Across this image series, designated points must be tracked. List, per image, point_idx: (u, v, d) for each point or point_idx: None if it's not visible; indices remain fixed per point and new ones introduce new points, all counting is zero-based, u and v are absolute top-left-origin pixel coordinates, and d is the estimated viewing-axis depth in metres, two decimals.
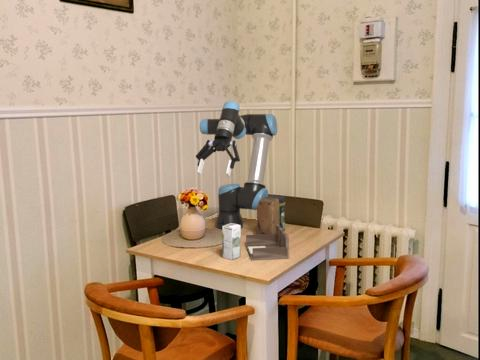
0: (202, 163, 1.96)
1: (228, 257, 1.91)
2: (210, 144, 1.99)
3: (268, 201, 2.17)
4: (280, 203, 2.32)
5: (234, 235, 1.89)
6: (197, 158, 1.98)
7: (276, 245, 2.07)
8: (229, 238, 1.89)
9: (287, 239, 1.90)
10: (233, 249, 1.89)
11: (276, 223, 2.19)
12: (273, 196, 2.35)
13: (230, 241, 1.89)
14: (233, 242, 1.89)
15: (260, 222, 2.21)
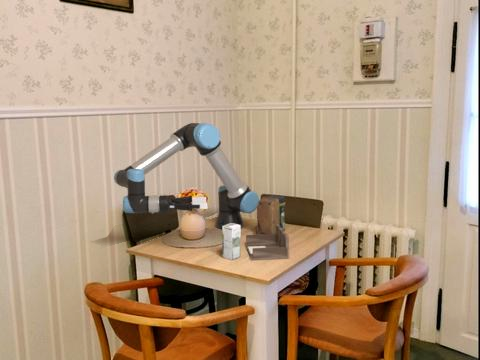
0: (195, 200, 2.07)
1: (228, 257, 1.91)
2: None
3: (268, 201, 2.17)
4: (280, 203, 2.32)
5: (234, 235, 1.89)
6: None
7: (276, 245, 2.07)
8: (229, 238, 1.89)
9: (287, 239, 1.90)
10: (233, 249, 1.89)
11: (276, 223, 2.19)
12: (273, 196, 2.35)
13: (230, 241, 1.89)
14: (233, 242, 1.89)
15: (260, 222, 2.21)
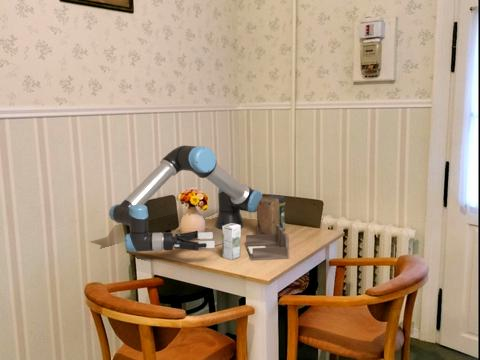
0: (201, 236, 1.97)
1: (228, 257, 1.91)
2: None
3: (268, 201, 2.17)
4: (280, 203, 2.32)
5: (234, 235, 1.89)
6: None
7: (276, 245, 2.07)
8: (229, 238, 1.89)
9: (287, 239, 1.90)
10: (233, 249, 1.89)
11: (276, 223, 2.19)
12: (273, 196, 2.35)
13: (230, 241, 1.89)
14: (233, 242, 1.89)
15: (260, 222, 2.21)
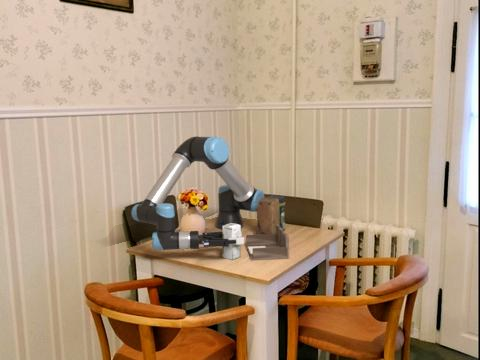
0: None
1: (228, 257, 1.91)
2: None
3: (268, 201, 2.17)
4: (280, 203, 2.32)
5: (234, 235, 1.89)
6: None
7: (276, 245, 2.07)
8: None
9: (287, 239, 1.90)
10: (233, 249, 1.89)
11: (276, 223, 2.19)
12: (273, 196, 2.35)
13: None
14: None
15: (260, 222, 2.21)
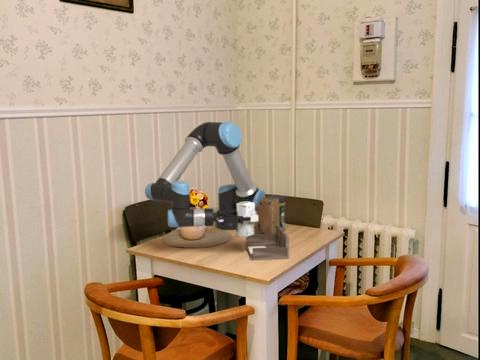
0: None
1: (242, 234, 1.92)
2: None
3: (268, 201, 2.17)
4: (280, 203, 2.32)
5: (249, 212, 1.91)
6: None
7: (276, 245, 2.07)
8: None
9: (287, 239, 1.90)
10: (247, 226, 1.91)
11: (276, 223, 2.19)
12: (273, 196, 2.35)
13: None
14: None
15: (260, 222, 2.21)
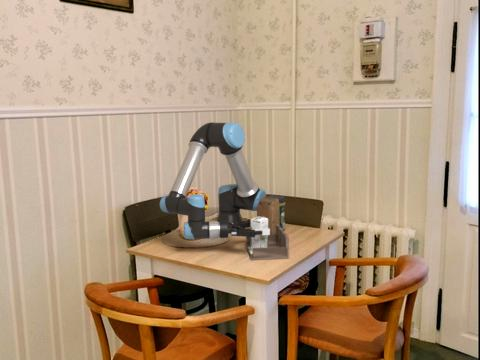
0: None
1: None
2: None
3: (268, 201, 2.17)
4: (280, 203, 2.32)
5: (262, 228, 1.96)
6: None
7: (276, 245, 2.07)
8: None
9: (287, 239, 1.90)
10: (261, 241, 1.96)
11: (276, 223, 2.19)
12: (273, 196, 2.35)
13: None
14: None
15: None
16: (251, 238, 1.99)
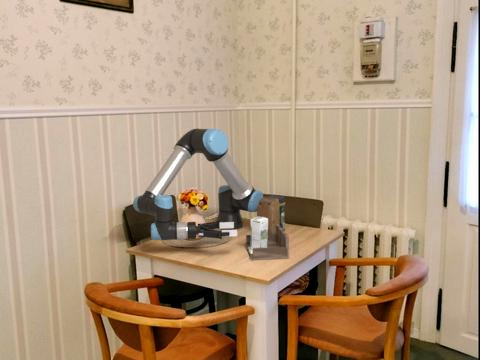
0: (223, 225, 2.03)
1: None
2: None
3: (268, 201, 2.17)
4: (280, 203, 2.32)
5: (262, 228, 1.96)
6: None
7: (276, 245, 2.07)
8: (257, 231, 1.96)
9: (287, 239, 1.90)
10: (261, 241, 1.96)
11: (276, 223, 2.19)
12: (273, 196, 2.35)
13: (258, 233, 1.96)
14: (261, 234, 1.96)
15: None
16: (251, 238, 1.99)
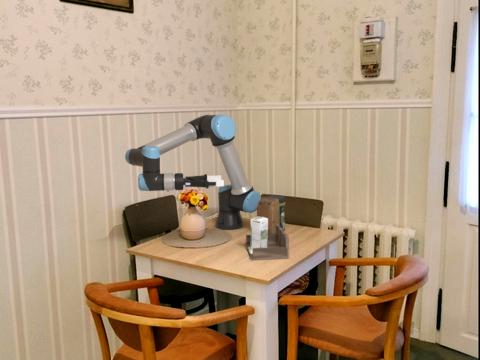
0: (210, 179, 2.05)
1: None
2: None
3: (268, 201, 2.17)
4: (280, 203, 2.32)
5: (262, 228, 1.96)
6: None
7: (276, 245, 2.07)
8: (257, 231, 1.96)
9: (287, 239, 1.90)
10: (261, 241, 1.96)
11: (276, 223, 2.19)
12: (273, 196, 2.35)
13: (258, 233, 1.96)
14: (261, 234, 1.96)
15: None
16: (251, 238, 1.99)
